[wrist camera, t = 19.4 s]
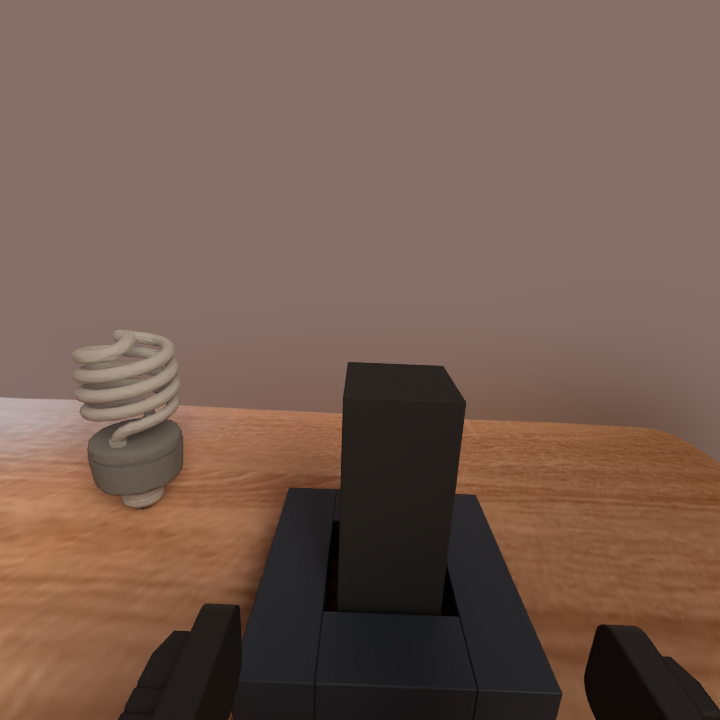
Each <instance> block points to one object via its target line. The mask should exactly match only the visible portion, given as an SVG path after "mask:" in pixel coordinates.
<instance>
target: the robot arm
mask: <svg viewBox="0 0 720 720" xmlns="http://www.w3.org/2000/svg"><path fill="white" fill-rule="evenodd" d="M241 665H242V640H241V618H240V607H239V605H231V604H210V603H205V604H204V605H203V606H202V608H201V610H200V612H199V614H198V616H197V618H196V620H195V623H194V625H193V627H192V629H191V631H173V632H172V634H171V635H170V636H169V637H168V638H167V639H166V640H165V641H164V642H163V643H162V644H161V645H160V646H159V647H158V648H157V649H156V650H155V651H154V652H153V653H152V655H151V657H150V659H149V661H148V663H147V665H146V667H145V669H144V671H143V673H142V675H141V676H140V678H139V680H138V684H137V687H136V688H134V690H133V692H132V694H131V696H130V698H129V700H128V701H127V703H126V705H125V709H124V712H123V713H121V715H120V717H119V719H118V720H228V719H229V715H230V712H231V708H232V705H233V702H234V698H235V695H236V691H237V687H238V683H239V678H240V672H241ZM584 684H585V691H586V696H587V699H588V702H589V705H590V708H591V710H592V712H593V714H594V716H595V719H596V720H720V710H719V708H718V707H717V706H716V704H715V703H714V702H713V700H712V699H711V698H710V696H709V695H708V694H707V692H706V691H705V690H704V688H703V687H702V686H701V684H700V683H699V682H698V681H697V680H696V679H695V678H693V677H692V676H691V675H690V674H689V673H688V672H687V671H686V670H684V669H683V668H682V667H681V666H680V665H679V664H678V663H677V662H676V661H674V660H673V659H672V658H671V657H663V656H661V654H660V653H659V652H658V650H657V649H656V647H655V646H654V645H653V643H652V642H651V640H650V639H649V638H648V636H647V635H646V634H645V632H644V631H643V630H642V629H640V628H639V627H637V626H624V625H604V624H602V625H599V626H598V627H597V630H596V633H595V636H594V640H593V644H592V648H591V651H590V655H589V659H588V662H587V666H586V670H585V675H584Z"/></svg>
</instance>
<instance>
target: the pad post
mask: <svg viewBox="0 0 720 720" xmlns="http://www.w3.org/2000/svg"><path fill="white" fill-rule="evenodd" d="M465 408H466V401H465V400H464V398H463V397H462V395H461V393H460V392H459V390H458V389H457V387H456V386H455V384H454V382H453V381H452V379H451V378H450V376H449V375H448V373H447V371H446V370H445V368H444V367H443V366H431V365H406V364H404V365H403V364H382V363H358V362H348V366H347V373H346V381H345V389H344V395H343V420H342V453H341V487H340V521H339V554H338V588H337V612H357V613H382V614H407V615H432V616H440V614H441V606H442V598H443V589H444V581H445V573H446V565H447V556H448V548H449V540H450V532H451V523H452V515H453V507H454V499H455V490H456V482H457V474H458V466H459V457H460V449H461V441H462V433H463V424H464V416H465Z"/></svg>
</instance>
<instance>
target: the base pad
mask: <svg viewBox="0 0 720 720" xmlns="http://www.w3.org/2000/svg"><path fill="white" fill-rule="evenodd" d="M339 521H340V489H337V490H336V489H314V488H289V490H288V493H287V497H286V500H285V503H284V506H283V510H282V513H281V516H280V519H279V523H278V526H277V529H276V533H275V536H274V539H273V542H272V546H271V549H270V552H269V555H268V559H267V562H266V565H265V568H264V572H263V575H262V578H261V581H260V585H259V588H258V591H257V595H256V598H255V601H254V604H253V608H252V611H251V614H250V617H249V621H248V624H247V627H246V630H245V634H244V637H243V640H242V665H241V672H240V678H239V683H238V687H237V691H236V695H235V698H234V702H233V705H232V712H233V720H556V718H557V714H558V709H559V705H560V701H561V697H562V692H561V690H560V687H559V685H558V683H557V680H556V678H555V676H554V673H553V671H552V669H551V667H550V664H549V662H548V660H547V657H546V655H545V653H544V651H543V648H542V646H541V644H540V641H539V639H538V637H537V635H536V632H535V630H534V628H533V625H532V623H531V621H530V618H529V616H528V614H527V612H526V609H525V607H524V605H523V602H522V600H521V598H520V596H519V593H518V591H517V589H516V586H515V584H514V582H513V580H512V577H511V575H510V573H509V570H508V568H507V566H506V563H505V561H504V559H503V557H502V554H501V552H500V550H499V547H498V545H497V543H496V541H495V538H494V536H493V534H492V531H491V529H490V527H489V524H488V522H487V520H486V518H485V515H484V513H483V511H482V508H481V506H480V504H479V502H478V499H477V497H476V495H467V494H455V499H454V507H453V515H452V523H451V532H450V540H449V548H448V556H447V565H446V573H445V581H444V589H443V598H442V607H443V612H444V616H432V615H407V614H382V613H357V612H332V611H327V601H328V592H329V582H330V573H331V563H332V556H333V557H338V554H339Z"/></svg>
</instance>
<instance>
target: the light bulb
mask: <svg viewBox="0 0 720 720" xmlns="http://www.w3.org/2000/svg"><path fill="white" fill-rule="evenodd" d="M113 339H114V340H115V341H116V342H117V343H115V344H113V345H100V346H88V347H82V348H79V349H76V350H74V351H73V353H72V359H73V360H74V361H75V362H76V363H81V364H89V365H85V366H81V367H79V368H77V369H75V370H74V372H73V373H72V378H73V380H75V381H76V382H78V383H83V384H84V385H81V386H80V387H78V388H77V389H76V390H75V393H74V395H75V398H76V399H77V400H79V401H80V402H83V403H85V404H84V405H83V406H82V407H81V408H80V414H81V416H82V417H83V418H84V419H87V420H90V421H113V420H119V419H125V418H130V417H134V416H137V415H140V414H143V413H144V416H143V418H139V419H132V420H127V421H123V422H119V423H116V424H113V425H110V426H108V427H106V428H103V429H102V430H100V431H99V432H97V433H96V434H95V435H94V436H93V437H92V438H91V439H90V440H89V442H88V449H87V451H88V461H89V464H90V468H91V471H92V475H93V478H94V481H95V483H96V486H97V487H98V488H99V489H100V490H102V491H103V492H104V493H107V494H111V495H116V496H122V500H123V503H124V504H126V505H127V506H130V507H134V508H141V509H144V508H147V507H149V506H150V505H153V504H154V503H155V502H157V501H158V500H159V499H160V498H161V497H162V496H163V494H164V491H165V490H164V486H165V485H167V484H168V483H170V482H171V481H172V480H173V479H175V478H176V477H177V476H178V474H179V473H180V471H181V469H182V467H183V436H182V430H181V429H180V427H179V426H178V424H177V423H175V422H173V421H171V420H167V418H169V417H170V416H171V415H172V414H173V413H174V412H175V411H176V409H177V407H178V405H179V402H180V399H179V394H178V391H179V389H180V384H181V383H180V379H179V377H178V375H177V372H178V367H179V366H178V364H177V361H176V360H175V359H174V358H173V356H174V354H175V348H174V346H173V344H172V343H171V341H170V340H168V339H167V338H165V337H163V336H159V335H155V334H151V333H145V332H137V331H129V330H116V331H114V332H113ZM136 343H141V344H149V345H153V346H158V347H161V348H162V350H156V349H153V348H148V347H142V346H135V344H136ZM121 356H128V357H140V358H146V359H145V360H142V361H139V362H123V361H122V362H107V361H110V360H113V359H116V358H119V357H121ZM164 365H165V367H162V366H164ZM143 374H146V375H152V376H153V377H151V378H149V379H140V378H134V377H137V376H140V375H143ZM167 384H168V385H167ZM150 392H155V393H157V394H156V395H154V396H152V397H150V398H147V399H145V398H143V397H141V395H144V394H147V393H150ZM165 403H167V404H166V406H164V407H163V408H162V409H161V410H159V411H158V412H156V413H155V410H154V409H156V408H158V407H160V406H162V405H164V404H165Z"/></svg>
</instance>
